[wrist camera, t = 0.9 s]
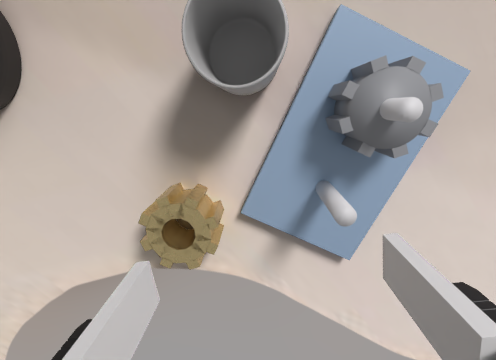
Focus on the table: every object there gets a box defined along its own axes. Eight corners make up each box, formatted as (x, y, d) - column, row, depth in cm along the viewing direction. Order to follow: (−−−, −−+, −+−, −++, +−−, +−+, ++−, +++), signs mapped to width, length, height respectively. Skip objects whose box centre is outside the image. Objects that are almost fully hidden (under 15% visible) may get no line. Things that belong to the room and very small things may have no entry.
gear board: (241, 208, 36) (234, 248, 26) (337, 9, 29) (377, -42, 19) (345, 254, 37) (378, 309, 27) (460, 72, 31) (559, 56, 20)
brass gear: (146, 230, 38) (127, 251, 32) (169, 170, 35) (153, 182, 30) (209, 257, 38) (201, 281, 33) (235, 200, 36) (231, 216, 31)
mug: (272, 100, 32) (278, 97, 22) (202, 89, 32) (175, 81, 22) (291, -13, 29) (310, -81, 19) (214, -26, 29) (188, -101, 18)
